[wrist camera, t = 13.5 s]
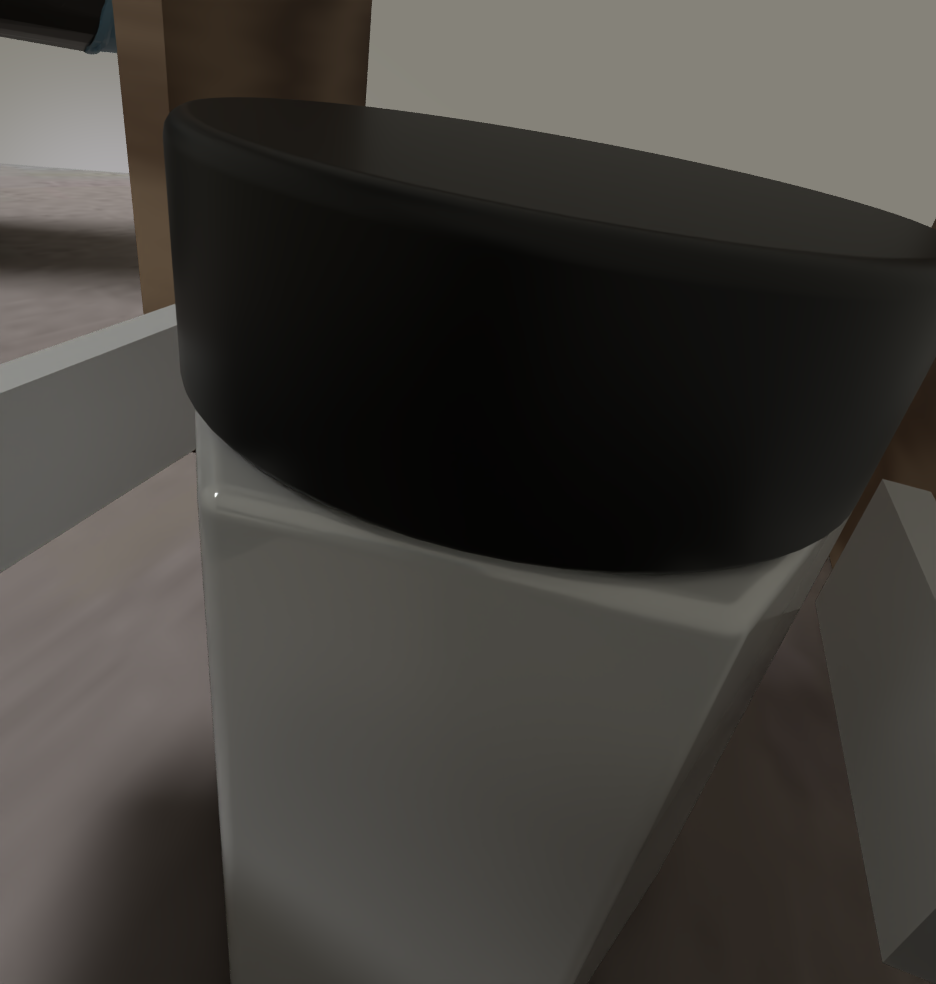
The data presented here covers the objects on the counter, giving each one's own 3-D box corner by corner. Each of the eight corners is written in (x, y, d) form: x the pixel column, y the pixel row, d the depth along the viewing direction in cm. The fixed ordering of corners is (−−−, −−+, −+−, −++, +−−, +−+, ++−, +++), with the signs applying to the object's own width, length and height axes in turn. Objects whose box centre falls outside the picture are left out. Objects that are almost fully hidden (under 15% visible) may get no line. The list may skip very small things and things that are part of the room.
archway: (911, 681, 19) (1629, -341, 9) (156, 439, 24) (70, -405, 14) (846, 487, 29) (1154, -103, 19) (322, 344, 34) (344, -188, 24)
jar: (646, 712, 17) (868, 191, 11) (667, 1146, 10) (1358, 374, 4) (300, 625, 18) (315, 89, 11) (93, 972, 11) (-165, 78, 4)
